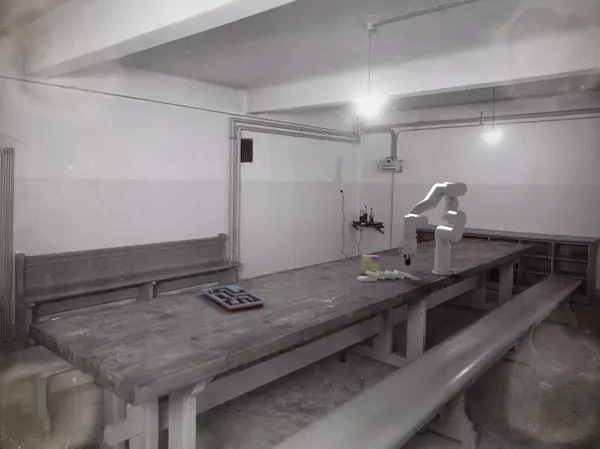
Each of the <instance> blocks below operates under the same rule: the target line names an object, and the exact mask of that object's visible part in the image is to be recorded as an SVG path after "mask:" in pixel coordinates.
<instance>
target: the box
mask: <svg viewBox="0 0 600 449" xmlns="http://www.w3.org/2000/svg"><path fill="white" fill-rule="evenodd" d="M379 258H380V256H379V255H377V254H376V255H375V254H362V256H361V270H360V271H361V274H366V273H365V272H366V271H370V272H373V273H376V270H377V271H379V264H380V263H379V262H380V261H379Z"/></svg>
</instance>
